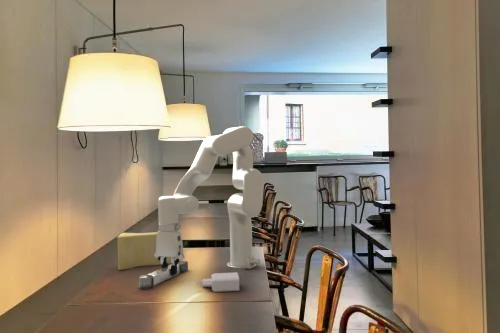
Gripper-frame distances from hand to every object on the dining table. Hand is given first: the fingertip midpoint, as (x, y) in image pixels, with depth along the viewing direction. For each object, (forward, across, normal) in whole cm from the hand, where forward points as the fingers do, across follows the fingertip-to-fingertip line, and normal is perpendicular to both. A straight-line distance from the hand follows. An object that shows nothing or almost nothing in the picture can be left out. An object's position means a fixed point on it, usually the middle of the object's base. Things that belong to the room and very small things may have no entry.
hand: (169, 273), depth 165 cm
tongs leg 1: (+1, +1, +1) cm, 2 cm away
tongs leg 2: (+1, -1, +1) cm, 2 cm away
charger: (+2, -23, +4) cm, 24 cm away
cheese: (+2, +21, -12) cm, 24 cm away
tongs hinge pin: (+1, 0, +15) cm, 15 cm away
